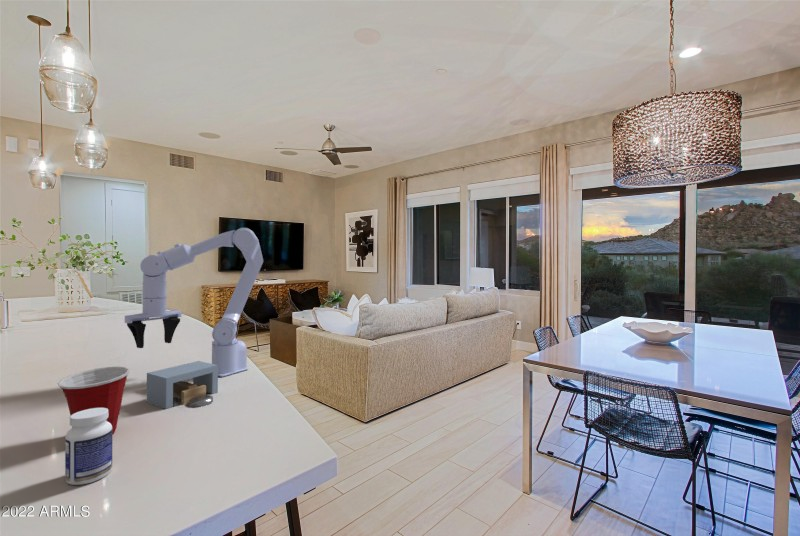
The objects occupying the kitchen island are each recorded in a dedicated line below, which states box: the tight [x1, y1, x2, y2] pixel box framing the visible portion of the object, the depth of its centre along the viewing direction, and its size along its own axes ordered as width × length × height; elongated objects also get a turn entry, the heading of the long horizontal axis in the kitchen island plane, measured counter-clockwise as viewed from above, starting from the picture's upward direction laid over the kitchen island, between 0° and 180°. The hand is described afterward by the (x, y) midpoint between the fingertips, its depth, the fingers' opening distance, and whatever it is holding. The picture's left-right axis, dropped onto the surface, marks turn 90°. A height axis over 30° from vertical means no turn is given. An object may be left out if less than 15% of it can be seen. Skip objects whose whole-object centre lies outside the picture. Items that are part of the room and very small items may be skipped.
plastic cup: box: [57, 365, 130, 436], centre depth 73 cm, size 11×11×12 cm
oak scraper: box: [173, 380, 207, 405], centre depth 96 cm, size 6×18×4 cm, turn 61°
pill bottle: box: [64, 408, 113, 486], centre depth 59 cm, size 6×6×10 cm
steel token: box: [188, 394, 214, 408], centre depth 91 cm, size 5×5×1 cm
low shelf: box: [146, 360, 219, 410], centre depth 94 cm, size 13×8×7 cm, turn 151°
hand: (154, 345), depth 109 cm, fingers open, 7 cm apart
